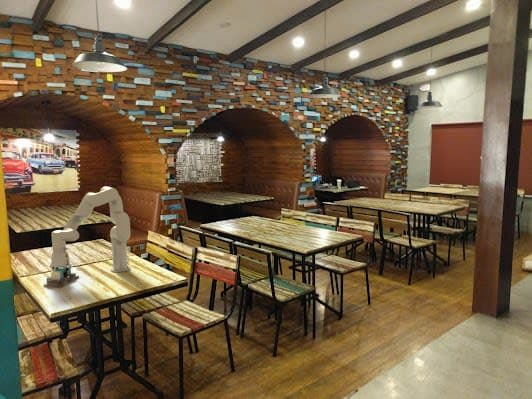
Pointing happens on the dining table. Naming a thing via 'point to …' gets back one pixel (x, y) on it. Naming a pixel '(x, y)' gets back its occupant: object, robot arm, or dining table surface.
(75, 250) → the dining table surface
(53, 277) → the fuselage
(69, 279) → the cradle
